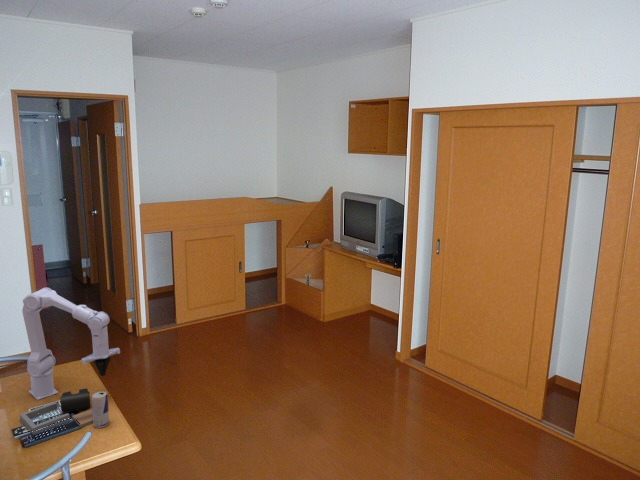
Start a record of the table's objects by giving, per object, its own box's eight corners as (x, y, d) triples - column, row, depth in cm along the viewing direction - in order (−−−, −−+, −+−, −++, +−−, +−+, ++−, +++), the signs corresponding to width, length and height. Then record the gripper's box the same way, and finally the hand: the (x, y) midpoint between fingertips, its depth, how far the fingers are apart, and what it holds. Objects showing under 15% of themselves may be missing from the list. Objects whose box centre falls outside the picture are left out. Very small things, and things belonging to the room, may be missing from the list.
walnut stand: (72, 419, 185) (71, 416, 185) (93, 410, 191) (93, 407, 191) (81, 427, 180) (81, 424, 180) (103, 418, 186) (102, 415, 186)
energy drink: (112, 421, 184) (110, 391, 182) (103, 429, 179) (101, 399, 177) (99, 419, 186) (97, 389, 183) (90, 427, 180) (88, 397, 178)
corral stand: (20, 420, 183) (19, 414, 183) (56, 407, 193) (55, 401, 192) (33, 434, 175) (32, 428, 174) (69, 420, 184) (69, 414, 184)
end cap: (61, 416, 187) (60, 400, 185) (61, 407, 193) (60, 391, 192) (90, 410, 191) (89, 394, 190) (90, 402, 197) (88, 386, 196)
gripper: (86, 351, 187) (88, 384, 190) (122, 340, 198) (124, 372, 201) (78, 346, 192) (80, 378, 195) (114, 335, 202) (116, 366, 205)
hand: (102, 375), depth 198 cm, fingers closed
